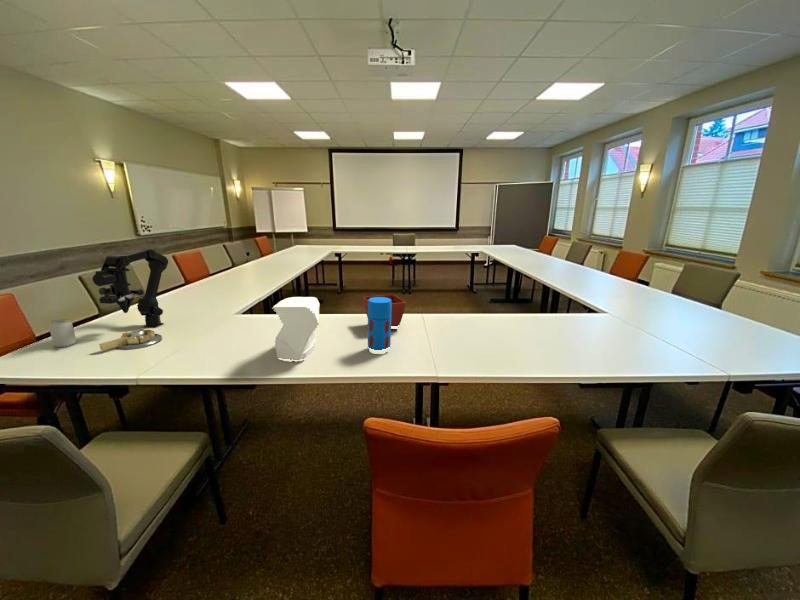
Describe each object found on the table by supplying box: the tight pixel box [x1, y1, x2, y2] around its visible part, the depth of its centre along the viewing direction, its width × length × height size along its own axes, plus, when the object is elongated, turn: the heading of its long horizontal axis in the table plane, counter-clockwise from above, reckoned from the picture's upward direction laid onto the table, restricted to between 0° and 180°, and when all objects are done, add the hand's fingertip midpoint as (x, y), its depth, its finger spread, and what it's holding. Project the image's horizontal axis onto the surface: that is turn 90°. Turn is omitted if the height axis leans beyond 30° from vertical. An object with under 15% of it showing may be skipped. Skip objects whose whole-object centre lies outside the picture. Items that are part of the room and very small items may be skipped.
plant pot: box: [362, 294, 406, 326], centre depth 187 cm, size 19×19×17 cm
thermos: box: [367, 297, 392, 350], centre depth 155 cm, size 11×11×25 cm
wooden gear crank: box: [99, 327, 156, 351], centre depth 154 cm, size 20×12×4 cm, turn 154°
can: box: [48, 318, 77, 348], centre depth 151 cm, size 8×8×12 cm
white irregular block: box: [271, 296, 321, 360], centre depth 149 cm, size 21×27×26 cm
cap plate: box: [114, 329, 163, 351], centre depth 158 cm, size 18×18×6 cm
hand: (125, 312), depth 163 cm, fingers closed
